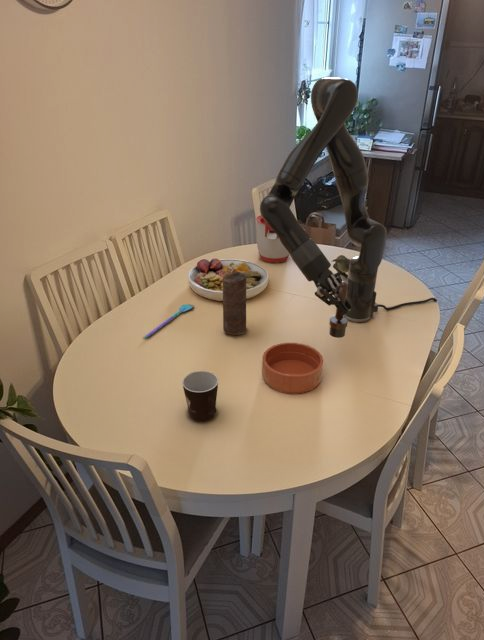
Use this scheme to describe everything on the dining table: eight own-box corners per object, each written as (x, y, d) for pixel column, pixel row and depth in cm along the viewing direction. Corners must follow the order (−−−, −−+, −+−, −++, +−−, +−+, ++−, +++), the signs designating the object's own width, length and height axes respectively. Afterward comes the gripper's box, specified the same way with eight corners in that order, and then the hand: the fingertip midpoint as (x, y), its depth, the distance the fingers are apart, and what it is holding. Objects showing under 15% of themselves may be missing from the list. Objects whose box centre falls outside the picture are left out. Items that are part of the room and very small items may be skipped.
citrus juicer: (251, 265, 203) (252, 217, 192) (259, 249, 217) (259, 204, 206) (289, 268, 201) (292, 220, 190) (294, 252, 215) (296, 207, 204)
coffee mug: (185, 402, 126) (183, 371, 121) (219, 401, 127) (218, 370, 122) (183, 433, 117) (180, 401, 111) (219, 432, 117) (218, 399, 112)
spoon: (185, 304, 172) (185, 301, 171) (195, 306, 171) (195, 303, 170) (144, 338, 152) (144, 335, 152) (155, 341, 151) (155, 337, 150)
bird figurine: (341, 264, 203) (336, 232, 186) (363, 270, 199) (361, 237, 182) (328, 290, 198) (322, 259, 181) (351, 296, 194) (347, 265, 177)
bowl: (283, 282, 189) (283, 263, 185) (238, 313, 168) (238, 292, 163) (220, 264, 202) (219, 246, 198) (171, 291, 181) (170, 271, 177)
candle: (243, 339, 153) (243, 281, 142) (220, 336, 154) (218, 278, 144) (248, 327, 160) (249, 270, 149) (226, 324, 161) (225, 268, 150)
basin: (308, 356, 146) (309, 339, 143) (330, 388, 133) (333, 370, 130) (255, 364, 142) (255, 346, 139) (272, 399, 129) (273, 380, 125)
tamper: (341, 328, 141) (348, 277, 133) (349, 337, 137) (356, 285, 129) (325, 330, 140) (331, 279, 131) (332, 339, 136) (339, 287, 127)
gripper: (309, 261, 124) (349, 315, 126) (329, 244, 134) (366, 295, 136) (289, 275, 129) (328, 328, 131) (310, 258, 139) (346, 307, 141)
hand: (347, 310), depth 134 cm, fingers closed on tamper
